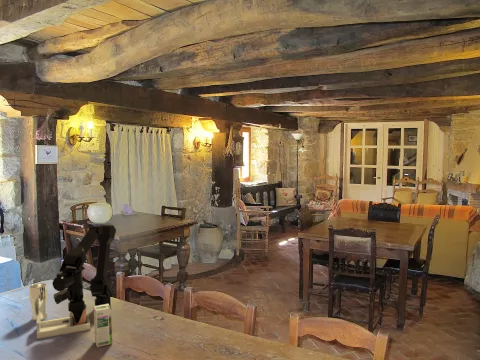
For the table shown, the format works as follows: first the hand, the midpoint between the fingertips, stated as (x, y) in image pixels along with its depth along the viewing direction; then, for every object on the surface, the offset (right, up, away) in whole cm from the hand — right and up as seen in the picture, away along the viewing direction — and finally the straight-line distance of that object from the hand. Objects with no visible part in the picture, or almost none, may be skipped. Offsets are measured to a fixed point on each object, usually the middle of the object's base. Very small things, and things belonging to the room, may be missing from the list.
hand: (76, 318), depth 175 cm
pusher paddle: (-3, -3, -1) cm, 4 cm away
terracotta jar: (+1, -3, +1) cm, 3 cm away
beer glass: (-20, -3, +9) cm, 22 cm away
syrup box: (+16, -5, -14) cm, 22 cm away
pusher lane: (-5, -4, -2) cm, 6 cm away
